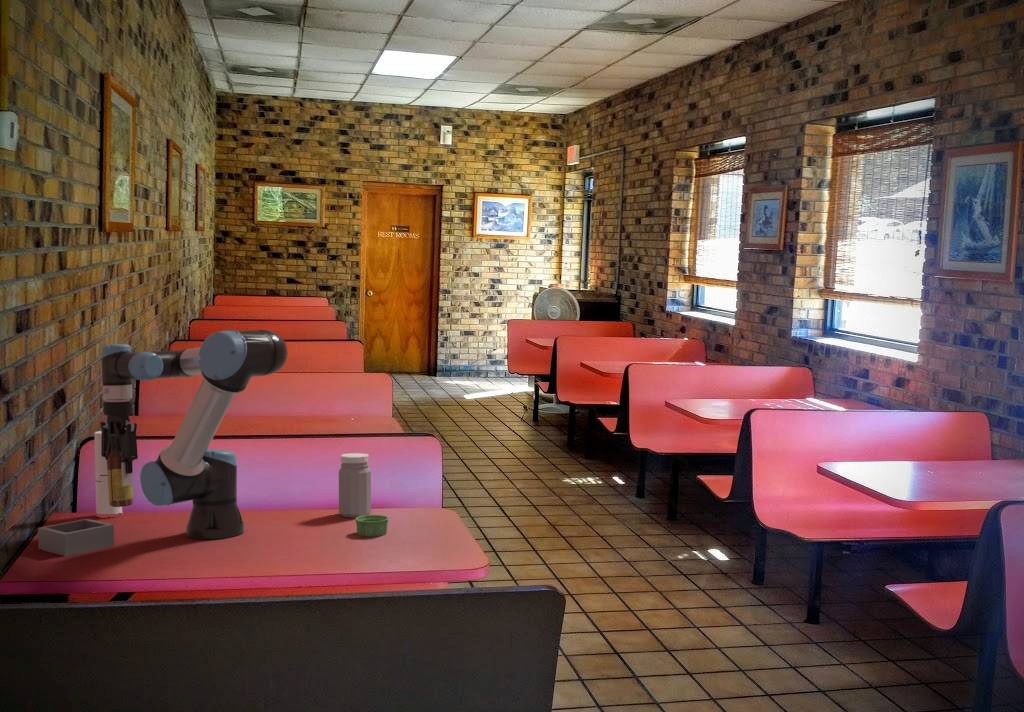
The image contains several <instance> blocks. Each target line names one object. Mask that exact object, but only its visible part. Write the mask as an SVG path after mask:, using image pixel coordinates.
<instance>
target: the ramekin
mask: <svg viewBox="0 0 1024 712" xmlns="http://www.w3.org/2000/svg"><path fill="white" fill-rule="evenodd" d="M355 524H356V533H357V534H358V536H359V537H364V538H365V537H366V538H367V537H370V538H373V537H374V538H375V537H382V536H385V535H386V534H387V533H388V525H389V517H388V516H387V515H383V514H369V515H364V516H359V517H357V518H355Z"/></svg>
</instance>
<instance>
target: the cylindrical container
mask: <svg viewBox="0 0 1024 712" xmlns="http://www.w3.org/2000/svg"><path fill="white" fill-rule="evenodd" d="M101 436H102V430H99V431H95V432H94V473H95V476H94V477H95V514H96V513H97V514H118V513H122V514H123V507H113V506H110V501H109V490H108V472H107V460H106V459H105V457H102V456H101ZM105 452H106V451H105Z"/></svg>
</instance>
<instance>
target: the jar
mask: <svg viewBox="0 0 1024 712" xmlns="http://www.w3.org/2000/svg"><path fill="white" fill-rule="evenodd" d="M369 455H370V454H368V453H365V452H364V453H363V452H350V453H349V452H348V453H343V454H340V462H341V464H340V468H339V469H338V513H339V514H340V515H341V517H344V518H351V519H352V518H354V519H356V518H357V517H359V516H364V515H371V512H372V470H371V468H370V467H369V465H370V464H369V463H368V462H369V460H370V459H369V457H370V456H369Z"/></svg>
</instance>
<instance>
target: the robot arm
mask: <svg viewBox="0 0 1024 712" xmlns="http://www.w3.org/2000/svg"><path fill="white" fill-rule="evenodd" d="M287 359H288V347H287V344H286V342H285V340H284V339H283V337H281V335H279V334H278V333H276V332H274V331H272V330H269V329H250V330H247V329H245V330H233V329H225V330H222V331H216V332H212V333H211V334H209V335H208V336H207V337H206V338H205V339H204V341H203V342H202V344H201V346H199V347H193V348H185V349H176V350H174V349H172V350H157V351H156V350H153V351H132V347H131V345H130V344H128V343H124V344H123V343H117V344H116V343H115V344H104V345H102V347H101V358H100V361H101V376H102V377H101V378H102V379H101V380H102V381H101V382H102V399H103V400H104V401H103V403H102V414H103V415H104V416H107V418H106V420H104V421H100V429H101V430H100V431H102V436H101V456H102V457H105V459H106V460H107V458H108V456H109V455H110V452H111V440H110V434H116V436H117V438H119V442H120V447H121V451H122V456H123V460H122V461H121V466H122V486H128V485H133V469H134V467H133V462H134V460H138V456H139V455H138V454H139V453H138V443H137V442H138V441H137V425H138V424H137V423H136V422H133V423H132V422H131V420H130V415H132V414H133V412H134V411H133V409H134V408H133V406H134V405H133V404H134V403H133V401H132V399H133V380H135V381H137V380H138V381H143V382H145V381H152V380H153V381H154V380H157V379H159V380H160V379H170V378H189V377H193V376H200V375H201V376H202V378H203V379H202V381H201V383H200V385H199V387H198V389H197V391H196V393H195V395H194V398H193V399H192V401H191V403H190V405H189V408H188V410H187V412H186V414H185V415H184V417H183V419H182V422H181V423H180V426H179V427H178V430H177V432H176V434H175V437H174V438H173V440H172V442H171V444H169V445H166V446H164V447H163V448H162V449H161V451H160V453H159V455H158V457H157V459H155V460H154V461H153V460H151V461H150V460H149V461H148V462H146V463H145V464H144V465H143V466H142V468H141V470H140V474H139V478H140V481H139V482H140V486H141V490H142V493H143V494H144V496H145V498H146V499H147V501H148V502H150V503H151V504H152V505H154V506H158V507H161V506H171V505H174V504H178V503H183V502H184V503H185V502H189V501H192V507H191V511H190V514H189V518H188V522H187V524H186V526H185V529H186V530H185V533H186V534H185V535H186V536H187V537H189V538H192V539H198V540H199V539H200V540H215V539H216V540H217V539H225V538H232V537H236V536H238V535H242V534H243V533H244V532H245V525H244V524H245V523H244V521H243V518H242V514H241V512H240V509H239V506H238V495H237V494H238V489H237V483H238V482H237V481H238V480H237V479H238V477H237V475H238V474H237V472H238V471H237V470H238V469H237V468H238V465H237V456H236V454H235V452H234V451H231V450H227V449H217V448H216V449H215V448H214V449H213V448H209V447H210V445H211V443H212V440H213V438H214V437H215V435H216V433H217V431H218V429H219V427H220V425H221V424H222V421H223V419H224V417H225V416H226V413H227V411H228V409H229V408H230V406H231V404H232V402H233V399H234V397H236V395H237V394H239V393H243V391H245V390H246V388H247V386H248V384H249V382H250V380H251V379H252V378H253V377H261V376H263V377H265V376H269V375H273V374H275V373H277V372H279V370H281V369H282V368H283V367H284V366H285V364H286V362H287ZM105 451H106V452H105ZM107 469H108V464H107ZM133 486H134V485H133Z"/></svg>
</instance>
